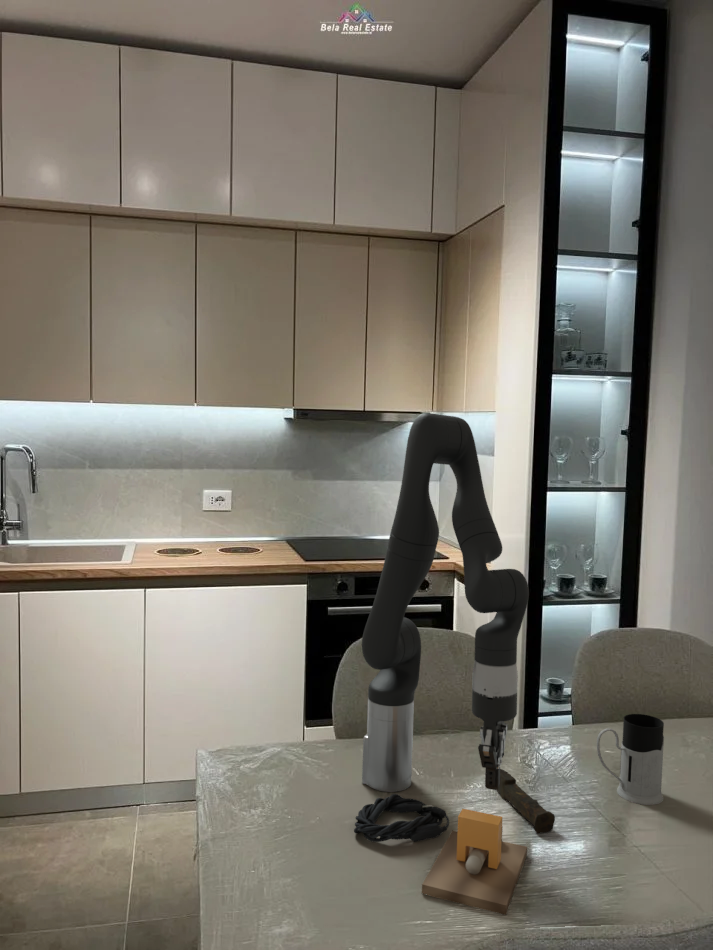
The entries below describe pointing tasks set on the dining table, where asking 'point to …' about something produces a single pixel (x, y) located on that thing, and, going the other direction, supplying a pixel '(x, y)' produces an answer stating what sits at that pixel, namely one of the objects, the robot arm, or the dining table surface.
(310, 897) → the dining table surface
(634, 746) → the glass holder
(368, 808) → the cable
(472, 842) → the notched block
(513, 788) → the dark brown tapered rod
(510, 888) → the wooden base plate
